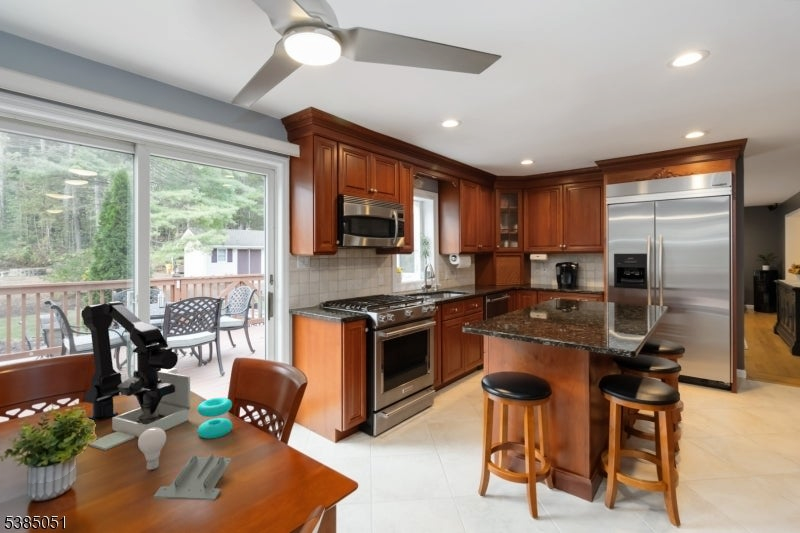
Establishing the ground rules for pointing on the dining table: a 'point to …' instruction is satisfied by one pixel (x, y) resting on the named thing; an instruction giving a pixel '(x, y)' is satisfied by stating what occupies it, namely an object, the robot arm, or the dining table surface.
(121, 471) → the dining table surface
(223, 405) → the donuts
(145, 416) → the dark grey chess piece
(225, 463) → the metal bracket
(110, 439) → the coaster
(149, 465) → the lightbulb
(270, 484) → the dining table surface
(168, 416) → the case
